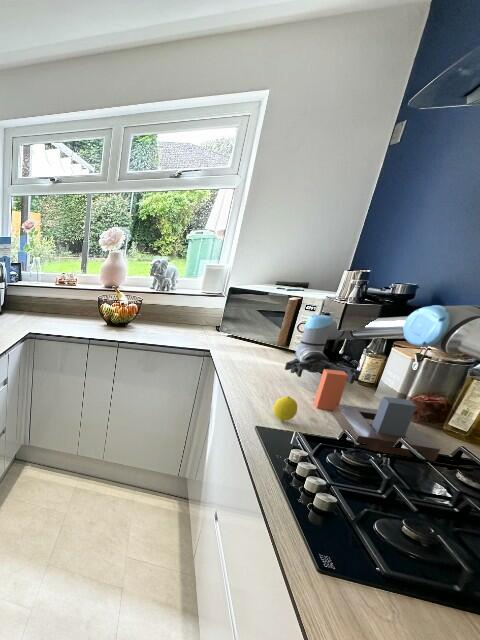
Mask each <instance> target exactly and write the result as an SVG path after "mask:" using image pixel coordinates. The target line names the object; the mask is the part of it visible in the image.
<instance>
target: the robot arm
mask: <svg viewBox="0 0 480 640" xmlns="http://www.w3.org/2000/svg"><path fill="white" fill-rule="evenodd" d="M376 318H377V319H376V320H374V321H372V322H370V323H369V324H368V325H366V326H365V329H363V330H358V331H340V330H337V323H336V321H335V320H336V319H334V318H333V317H332V316H330V315H324V314H311V315H309V316H307V320H306V321H305V324H304V328H303V332H302V336H301V339H300V343H299V345H298V347H296V350H295V358H294V359H292V360H290V361H287V362H286V363H285V366H284V370H285V371H289V370H290V373H291V374H294V373H295V374H296V376H297V377H298V378H301V377H302V375H303V371H307V372H308V373H312V374H316V373H317V374H318V373H322V372H323V371H324V369H328V370H337V371H344V372H345V373H346V374H347V375H348V378H347V382H348V383H349V384H354V382H355V380H356V379H359V377H360V375H361V370H359V369H356V368H353V367H350V366H348V365H345V364H343V363H341V362H337V363H336V364H335V363H332V362H330V360H329V357H327V356H326V355H325V353H324V349H325V346H326V343H327V340H378V339H377V338H384V340H386V339H389V340H390V339H391V340H393V339H400V340H401V339H405V340H406V341H407V342H408V343H409V344H411V345H413V346H415V347H420V348H428V347H431V348H434V349H435V350H439V351H440V352H443V353H446V354H448V355H450V356H453V357H458V356H457V355H459V356H464V355H466V356H468V357H470V358H473V359H475V360H478V361H480V305H477V304H467V305H465V304H463V305H438V304H437V305H436V304H434V305H430V306H423V307H421V308H418V309H415V310H414V311H413V312H411V313H410V314H409V315H407V316H393V317H392V316H391V317H376Z"/></svg>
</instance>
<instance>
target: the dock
mask: <svg viewBox="0 0 480 640" xmlns="http://www.w3.org/2000/svg"><path fill="white" fill-rule="evenodd" d="M377 411H378V408H377V409H375V408H371V407H370V408H369V407H364V406H363V407H362V406H356V405H355V406H354V405H347V404H342V403H339V404H335V406H334V409H333V411H332V413H331V415H332V416H333V417H334V419H335V421H336V422H337V424H338V425H339V426H340V428H341V430H342V431H343V430H348V431H349V432H350V434H352V436H353V437H354V439H355V440H356V442H357V443H365V444H367V445H355V444H354V446H353V448H354V447H360V448H366V449H369V450H368V451H371V450H373V451H372V452H377V451H378V452H377V453H382V452H383V453H382V454H388V453H389V454H388V455H393V454H395V455H394V456H399V455H401V456H400V457H404V456H407V457H406V458H410V457H413V455H412V454H411V453H410V452H409V451H408V450H407V449H402V448H395V447H393V446H394V445H395V443H396V442H397V440H398V439H399V438H401V437H399V436H393V435H387V434H381V433H376V432H375V431H374V429H373V428H372V424H373V422H374V419H375V416H376V413H377ZM402 438H403V439H404V440H405V441H407V442H408V443H409V444H410V445H411V446H412V447H413V448H414V449H416V450H417V452H418V453H420V454H421V455H422V456H423V457H425V458H426V459H427V460H429V461H428V462H433V463H435V462H436V460H437V458H438V456H439V453H440V451H441V449H440V448H439V446H437V445H436V444H435V443H434V442H433V441H432V440H431V439H430V438H429V437H428V436H426V434H424V433H423V431H421V430H420V429H419V428H418V427H417V425H415V424H414V423H413V421H410V424H409V426H408V429H407V431H406V434H405V436H404V437H402ZM360 448H359V449H360Z"/></svg>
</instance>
